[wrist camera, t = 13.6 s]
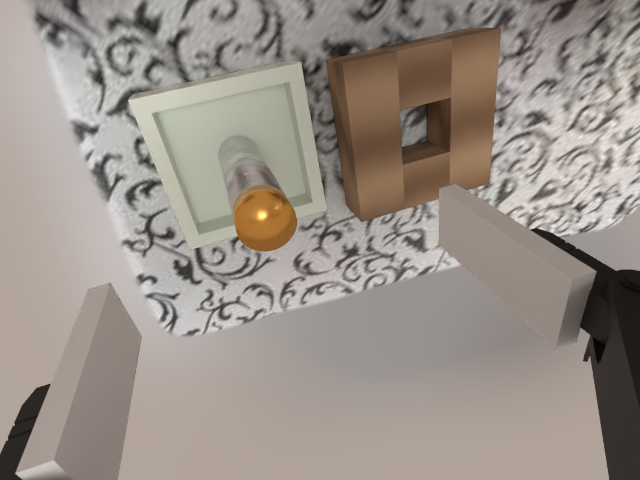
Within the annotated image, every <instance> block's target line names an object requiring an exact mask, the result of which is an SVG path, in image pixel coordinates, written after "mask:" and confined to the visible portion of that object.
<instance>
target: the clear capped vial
mask: <svg viewBox="0 0 640 480" xmlns="http://www.w3.org/2000/svg"><path fill="white" fill-rule="evenodd" d="M218 158H219V162H220V166H221V171H222V175H223V179H224V183H225V187H226V191H227V195H228V199H229V204H230V208H231V212H232V216H233V220H234V224H235V228H236V232H237V235H238V237H239V239H240V240H241V242H242V243H243V244H244V245H246V246H247V247H249V248H251V249H253V250H257V251H271V250H275V249H278V248H280V247H282V246H283V245H285V244H286V243H287V242H288V241H289V240H290V239H291V237H292V236H293V234H294V232H295V230H296V226H297V217H296V213H295V211H294V209H293V207H292V205H291V204H290V202H289V200H288V199H287V197H286V195H285V194H284V192H283V190H282V188H281V187H280V185H279V183H278V182H277V180H276V178H275V177H274V175H273V173H272V172H271V170H270V168H269V166H268V165H267V163H266V161H265V160H264V158H263V156H262V155H261V153H260V151H259V149H258V148H257V146H256V145H255V143H254V142H253V141H252V140H251V139H249V138H247V137H245V136H240V135H236V136H232V137H229V138H227V139H226V140H225V141H224V142H223V143H222V144H221V146H220V148H219V152H218Z"/></svg>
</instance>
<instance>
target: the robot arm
mask: <svg viewBox="0 0 640 480" xmlns="http://www.w3.org/2000/svg"><path fill="white" fill-rule="evenodd" d="M439 245H440V246H442V247H443V248H444V249H445V250H446V251H447V252H448V253H449V254H450V255H451V256H453V257H454V258H455V259H456V260H457V261H458V262H459V263H460V264H461V265H462V266H464V267H465V268H466V269H467V270H468V271H469V272H470V273H471V274H472V275H473V276H475V277H476V278H477V279H478V280H479V281H480V282H481V283H482V284H483V285H484V286H486V287H487V288H488V289H489V290H490V291H491V292H492V293H493V294H494V295H495V296H497V297H498V298H499V299H500V300H501V301H502V302H503V303H504V304H505V305H506V306H507V307H509V308H510V309H511V310H512V311H513V312H514V313H515V314H516V315H517V316H518V317H520V318H521V319H522V320H523V321H524V322H525V323H526V324H527V325H528V326H529V327H531V328H532V329H533V330H534V331H535V332H536V333H537V334H538V335H539V336H541V337H542V338H543V339H544V340H545V341H546V342H547V343H548V344H549V345H550V346H551V347H553V348H554V349H555V350H556V349H559V348H561V347H564V346H567V345H569V344H572V343H574V342H576V341H577V338H578V334H579V331H580V327H581V328H582V329H583V330H585V331H586V332H587V333H589V334H590V338H589V341H588V345H587V348H586V351H585V354H584V359H583V361H586V362H587V361H588V358H589V356H590V358H591V364H592V370H593V377H594V383H595V389H596V396H597V402H598V409H599V416H600V422H601V429H602V435H603V442H604V448H605V454H606V461H607V468H608V474H609V480H640V271H637V270H618V271H615V270H614V269H612V268H610V267H608V266H607V265H605V264H603V263H602V262H600V261H598V260H597V259H595V258H593V257H592V256H590V255H588V254H586V253H585V252H583V251H581V250H580V249H576V247H575V246H573V245H571V244H570V243H566V242H565V240H563V239H561V238H559V237H558V236H556V235H554V234H553V233H550V232H547V231H544V230H540V229H537V228H535V229H531V230H529V229H528V228H526V227H524V226H523V225H521V224H520V223H518V222H516V221H515V220H513V219H512V218H510V217H508V216H507V215H505V214H504V213H502V212H500V211H499V210H497V209H495V208H494V207H492V206H491V205H489V204H487V203H486V202H484V201H483V200H481V199H479V198H478V197H476V196H475V195H473V194H471V193H470V192H468V191H466V190H465V189H463V188H462V187H460V186H458V185H457V184H454V185H450V186H447V187H443V188H440V189H439ZM141 338H142V336H141V335H140V333H139V331H138V329H137V327H136V326H135V324H134V322H133V321H132V319H131V317H130V315H129V314H128V312H127V310H126V309H125V307H124V305H123V304H122V302H121V300H120V298H119V297H118V295H117V293H116V292H115V290H114V288H113V286H112V285H111V283H108V284H105V285H101V286H98V287H94V288H91V289H88V291H87V294H86V296H85V299H84V301H83V304H82V307H81V309H80V312H79V314H78V317H77V319H76V322H75V324H74V327H73V330H72V332H71V334H70V337H69V339H68V342H67V345H66V347H65V349H64V352H63V354H62V357H61V359H60V362H59V364H58V367H57V370H56V372H55V375H54V377H53V380H52V382H51V384H48V385H45V386H42V387H38V388H36V389H35V390H34V392H33V393H32V394H31V395H30V397H29V398H28V399H27V400H26V402H25V403H24V404H23V405H22V407H21V409H20V412H19V414H18V416H17V418H16V420H15V426H13V427H12V429H11V431H10V434H9V436H8V441H6V443H5V445H4V447H3V449H2V451H1V454H0V480H118V475H119V470H120V463H121V458H122V452H123V445H124V440H125V434H126V427H127V422H128V415H129V410H130V404H131V398H132V392H133V386H134V380H135V373H136V368H137V361H138V355H139V350H140V344H141Z"/></svg>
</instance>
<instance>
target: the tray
mask: <svg viewBox="0 0 640 480" xmlns="http://www.w3.org/2000/svg"><path fill="white" fill-rule="evenodd" d="M128 101H129V104H130V106H131V108H132V111H133V113H134V116H135V118H136V120H137V123H138V125H139V128H140V130H141V133H142V135H143V137H144V140H145V142H146V145H147V147H148V149H149V152H150V154H151V157H152V159H153V162H154V164H155V166H156V169H157V171H158V174H159V176H160V179H161V181H162V183H163V186H164V188H165V191H166V193H167V195H168V198H169V200H170V203H171V205H172V208H173V210H174V212H175V215H176V217H177V220H178V222H179V224H180V227H181V229H182V232H183V234H184V237H185V239H186V241H187V244H188V246H189V249H190V250H192V249H195V248H198V247H202V246H205V245H209V244H212V243H215V242H219V241H222V240H226V239H229V238H233V237H236V236H238V235H237V232H236V228H235V224H234V220H233V216H232V212H231V208H230V204H229V199H228V195H227V191H226V187H225V183H224V179H223V175H222V171H221V166H220V162H219V158H218V152H219V148H220V146H221V144H222V143H223V142H224V141H225V140H226V139H227V138H229V137H232V136H236V135H240V136H245V137H247V138H249V139H251V140H252V141H253V142H254V143H255V145H256V146H257V148H258V149H259V151H260V153H261V155H262V156H263V158H264V160H265V161H266V163H267V165H268V166H269V168H270V170H271V172H272V173H273V175H274V177H275V178H276V180H277V182H278V183H279V185H280V187H281V188H282V190H283V192H284V194H285V195H286V197H287V199H288V200H289V202H290V204H291V205H292V207H293V209H294V211H295V213H296V217H297V219H298V218H301V217H304V216H308V215H311V214H315V213H318V212H321V211H325V210H327V209H326V203H325V197H324V191H323V186H322V180H321V174H320V168H319V163H318V157H317V151H316V145H315V140H314V134H313V128H312V122H311V116H310V111H309V105H308V99H307V93H306V88H305V82H304V76H303V70H302V65H301V62H299V61H295V60H287V61H283V62H278V63H273V64H269V65H264V66H260V67H255V68H250V69H246V70H241V71H237V72H232V73H227V74H223V75H218V76H214V77H209V78H204V79H200V80H195V81H191V82H186V83H181V84H177V85H172V86H168V87H163V88H159V89H154V90H149V91H145V92H140V93H136V94H133V95H132V96H131V97H130V99H129V100H128Z"/></svg>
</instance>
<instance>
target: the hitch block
mask: <svg viewBox="0 0 640 480" xmlns="http://www.w3.org/2000/svg"><path fill="white" fill-rule="evenodd" d="M500 36H501V28H467V29H463V30H458V31H454V32H449V33H445V34H440V35H436V36H431V37H427V38H422V39H418V40H413V41H409V42H404V43H400V44H395V45H391V46H386V47H382V48H377V49H372V50H368V51H363V52H359V53H354V54H350V55H345V56H341V57H336V58H332V59H327V60H326V63H327V70H328V77H329V84H330V91H331V98H332V105H333V112H334V120H335V127H336V134H337V141H338V148H339V155H340V162H341V169H342V176H343V183H344V190H345V197H346V204H347V206H348V207H349V209H350V210H351V211H352V212H353V213H354V214H355V215H356V216H357V217H358V219H359V220H360V221H361V222H364V221H367V220H370V219H373V218H377V217H380V216H383V215H387V214H390V213H393V212H397V211H400V210H403V209H406V208H410V207H413V206H416V205H420V204H423V203H426V202H430V201H433V200H436V199H439V189H440V188H443V187H447V186H450V185H454V184H457V185H458V186H460V187H462V188H463V189H465V190H469V189H472V188H476V187H479V186H482V185H486V184H489V178H490V165H491V152H492V139H493V126H494V114H495V101H496V88H497V75H498V62H499V49H500ZM423 104H427V141H425V142H421V143H417V144H414V145H410V146H406V147H403V148H402V143H401V124H400V110H404V109H408V108H412V107H415V106H419V105H423Z"/></svg>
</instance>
